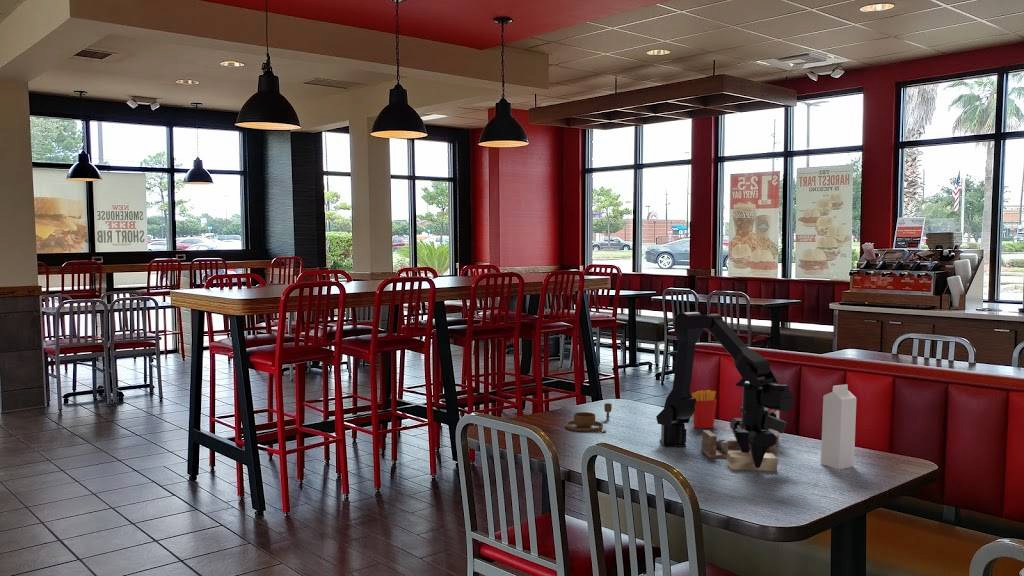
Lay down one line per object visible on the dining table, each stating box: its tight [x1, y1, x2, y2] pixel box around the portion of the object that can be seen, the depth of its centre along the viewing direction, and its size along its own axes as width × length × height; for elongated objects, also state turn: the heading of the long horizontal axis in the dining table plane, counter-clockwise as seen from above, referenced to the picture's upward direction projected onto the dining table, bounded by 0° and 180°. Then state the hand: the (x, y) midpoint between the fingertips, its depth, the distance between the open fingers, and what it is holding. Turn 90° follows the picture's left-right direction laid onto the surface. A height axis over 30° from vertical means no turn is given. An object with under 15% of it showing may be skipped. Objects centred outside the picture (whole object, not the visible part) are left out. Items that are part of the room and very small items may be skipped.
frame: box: [700, 429, 778, 459], centre depth 225 cm, size 19×8×6 cm, turn 94°
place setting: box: [565, 402, 613, 434], centre depth 257 cm, size 18×20×6 cm
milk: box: [820, 383, 857, 471], centre depth 214 cm, size 6×6×22 cm
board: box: [726, 452, 778, 472], centre depth 213 cm, size 12×5×4 cm, turn 86°
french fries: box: [691, 389, 718, 429], centre depth 258 cm, size 8×4×12 cm, turn 111°
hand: (751, 462), depth 213 cm, fingers open, 8 cm apart
